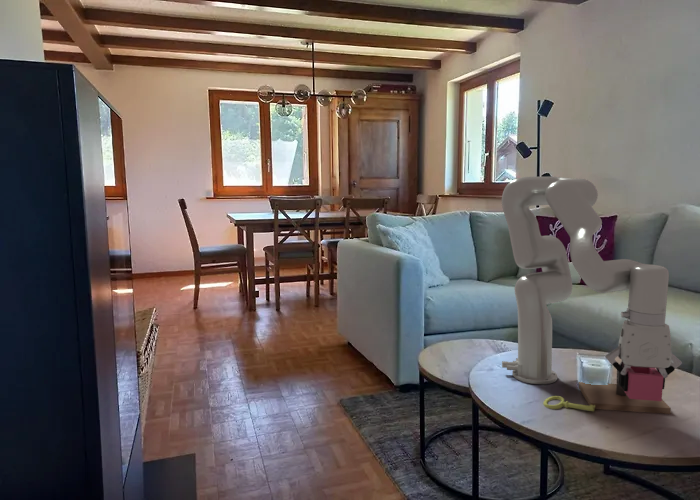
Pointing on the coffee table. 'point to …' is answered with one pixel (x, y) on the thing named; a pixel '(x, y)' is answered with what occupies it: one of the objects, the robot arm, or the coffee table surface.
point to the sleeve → (644, 384)
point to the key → (566, 404)
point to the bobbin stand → (619, 399)
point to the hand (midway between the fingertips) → (640, 389)
